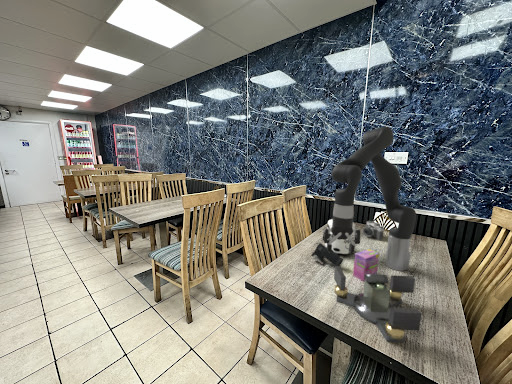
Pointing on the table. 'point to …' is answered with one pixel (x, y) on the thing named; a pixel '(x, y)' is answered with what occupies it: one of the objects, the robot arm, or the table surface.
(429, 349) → the table surface
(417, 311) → the knob
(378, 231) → the camera
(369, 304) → the tribrach
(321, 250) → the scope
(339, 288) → the grey upright plank
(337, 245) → the milk container
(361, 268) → the box
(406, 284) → the knob
